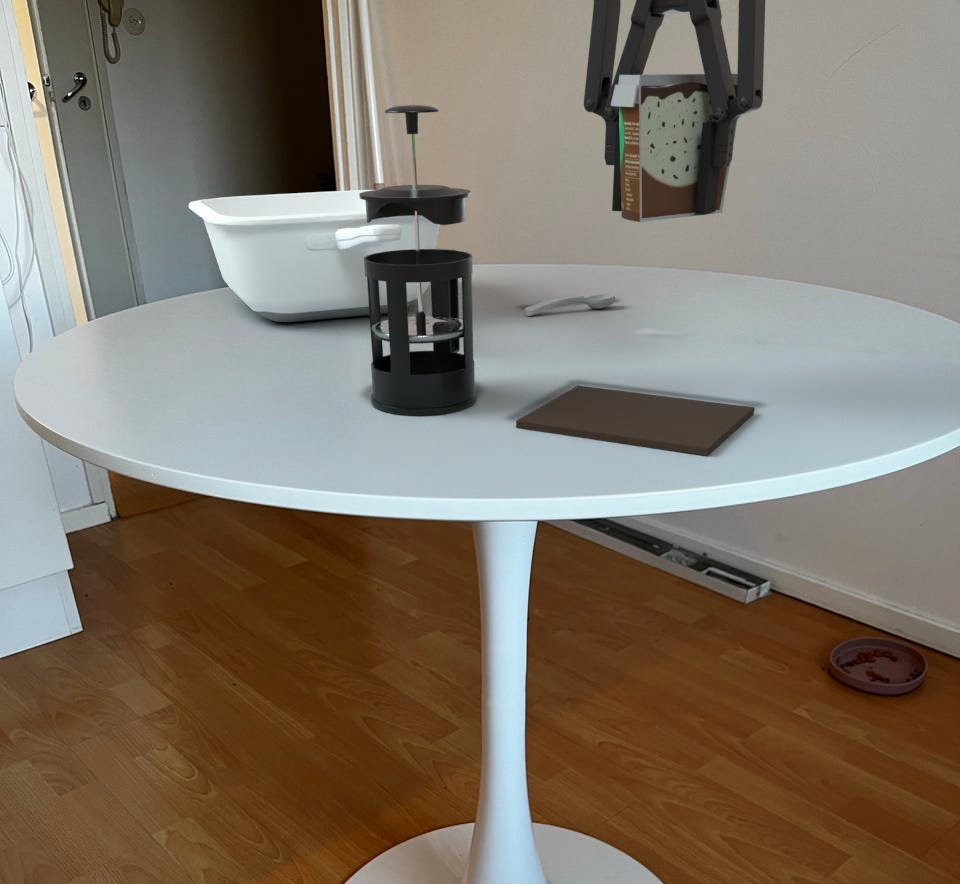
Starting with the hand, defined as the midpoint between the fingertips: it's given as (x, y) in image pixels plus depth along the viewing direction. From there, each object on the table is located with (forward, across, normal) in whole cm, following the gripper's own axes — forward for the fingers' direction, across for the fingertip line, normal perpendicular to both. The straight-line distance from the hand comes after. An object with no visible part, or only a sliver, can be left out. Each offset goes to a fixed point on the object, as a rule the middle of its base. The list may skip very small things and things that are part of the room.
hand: (663, 210), depth 82 cm
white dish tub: (+15, -45, +14) cm, 49 cm away
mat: (+15, +2, -8) cm, 17 cm away
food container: (0, -1, 0) cm, 1 cm away
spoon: (+15, -23, +30) cm, 41 cm away
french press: (+15, -17, -11) cm, 25 cm away
